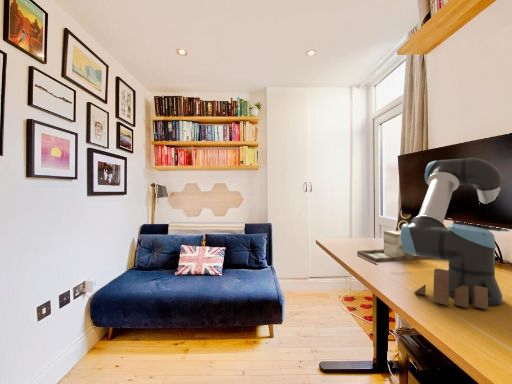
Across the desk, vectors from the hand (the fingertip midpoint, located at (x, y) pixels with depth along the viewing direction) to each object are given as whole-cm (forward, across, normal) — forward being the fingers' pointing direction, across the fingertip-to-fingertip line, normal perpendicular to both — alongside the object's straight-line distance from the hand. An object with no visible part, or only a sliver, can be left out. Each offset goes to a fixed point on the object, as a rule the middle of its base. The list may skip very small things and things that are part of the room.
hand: (408, 241), depth 126 cm
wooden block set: (+27, -46, -9) cm, 54 cm away
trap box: (+2, 0, -8) cm, 9 cm away
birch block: (+6, 0, -7) cm, 9 cm away
